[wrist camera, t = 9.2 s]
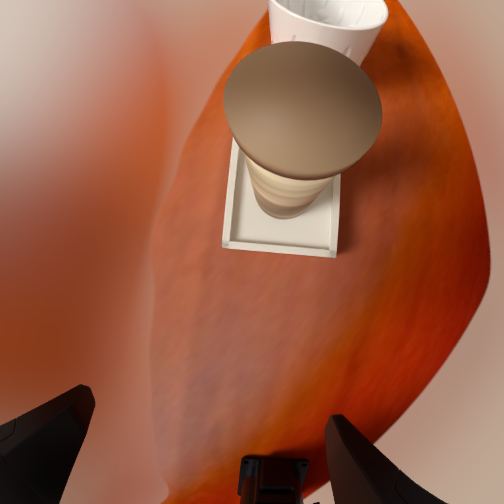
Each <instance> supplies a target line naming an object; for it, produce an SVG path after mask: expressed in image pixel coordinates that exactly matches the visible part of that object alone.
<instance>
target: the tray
mask: <svg viewBox="0 0 504 504" xmlns="http://www.w3.org/2000/svg"><path fill="white" fill-rule="evenodd" d="M340 179H341V173H340V174H338V175H336V176H335V177H334V179H333V180H332V181H331V182H330V183H329V184H328V185H327V186H326V188H325V189H324V190H323V191H322V192H321V193H320V194H319V195H318V197H317V198H316V199H315V200H314V201H313V202H312V203H311V205H310V206H309V207H308V208H307V209H306V210H305V211H304V212H303V213H302V214H301V215H299V216H297V217H295V218H292V219H285V220H283V219H276V218H273V217H271V216H269V215H267V214H266V213H265V212H264V211H263V210H262V209H261V208H260V207H259V205H258V203H257V201H256V198H255V195H254V191H253V187H252V183H251V179H250V175H249V172H248V168H247V164H246V160H245V156H244V153H243V151H242V150H241V149H240V147H239V146H238V144H237V143H236V141H235V139H234V137H233V143H232V151H231V160H230V169H229V178H228V187H227V197H226V207H225V217H224V227H223V238H222V248H229V249H241V250H252V251H263V252H275V253H286V254H297V255H309V256H320V257H331V258H336V252H337V240H338V225H339V207H340Z"/></svg>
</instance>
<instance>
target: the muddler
mask: <svg viewBox="0 0 504 504" xmlns="http://www.w3.org/2000/svg"><path fill="white" fill-rule="evenodd" d="M224 109H225V114H226V117H227V120H228V123H229V126H230V129H231V132H232V135H233V137H234V139H235V141H236V143H237V144H238V146H239V147H240V149H241V150H242V151H243V153H244V156H245V160H246V164H247V168H248V172H249V175H250V179H251V183H252V187H253V191H254V195H255V198H256V201H257V203H258V205H259V207H260V208H261V209H262V210H263V211H264V212H265V213H266V214H267V215H269V216H271V217H273V218H276V219H283V220H285V219H292V218H295V217H297V216H299V215H301V214H302V213H303V212H304V211H305V210H306V209H307V208H308V207H309V206H310V205H311V203H312V202H313V201H314V200H315V199H316V198H317V197H318V195H319V194H320V193H321V192H322V191H323V190H324V189H325V188H326V186H327V185H328V184H329V183H330V182H331V181H332V180H333V179H334V177H335V176H336V175H338V174H340V173H343V172H344V171H346V170H347V169H349V168H350V167H352V166H353V165H354V164H355V163H356V162H357V161H358V160H359V159H360V158H361V157H362V156H363V155H364V154H365V153H366V152H367V151H368V150H369V149H370V147H371V146H372V145H373V144H374V142H375V140H376V139H377V136H378V134H379V131H380V128H381V123H382V106H381V101H380V97H379V95H378V92H377V90H376V88H375V86H374V84H373V82H372V81H371V79H370V78H369V77H368V75H367V74H366V73H365V72H364V71H363V70H362V68H361V67H360V66H358V65H357V64H356V63H355V62H354V61H352V60H351V59H350V58H348V57H347V56H345V55H343V54H342V53H340V52H338V51H336V50H334V49H331V48H329V47H326V46H323V45H320V44H315V43H310V42H302V41H288V42H279V43H274V44H271V45H267V46H264V47H262V48H260V49H257V50H255V51H254V52H252V53H250V54H249V55H247V56H246V57H245V58H244V59H242V60H241V61H240V62H239V63H238V64H237V65H236V67H235V68H234V69H233V71H232V72H231V74H230V76H229V78H228V80H227V83H226V86H225V90H224Z"/></svg>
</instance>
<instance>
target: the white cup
mask: <svg viewBox="0 0 504 504" xmlns="http://www.w3.org/2000/svg"><path fill="white" fill-rule="evenodd" d="M268 8H269V18H270V32H271V42H272V44H274V43H279V42H288V41H302V42H310V43H315V44H320V45H323V46H326V47H329V48H331V49H334V50H336V51H338V52H340V53H342V54H343V55H345V56H347V57H348V58H350V59H351V60H352V61H354V62H355V63H356V64H357V65H358V66H360V65H361V63H362V62H363V60H364V58H365V57H366V55H367V54H368V52H369V50H370V48H371V47H372V45H373V43H374V41H375V39H376V38H377V36H378V34H379V32H380V30H381V29H382V27H383V25H384V24H385V22H386V20H387V18H388V8H387V6H386V4H385V2H384V0H268Z"/></svg>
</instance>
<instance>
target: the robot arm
mask: <svg viewBox="0 0 504 504" xmlns="http://www.w3.org/2000/svg"><path fill="white" fill-rule="evenodd" d="M94 408H95V399H94V396H93V393H92V391H91V389H90V387H89V386H86V385H83V384H80V385H78V386H76V387H74V388H72V389H70V390H68V391H67V392H65V393H63V394H61V395H59V396H57V397H55V398H53V399H52V400H50V401H48V402H46V403H44V404H42V405H40V406H38V407H36V408H35V409H33V410H31V411H29V412H27V413H25V414H23V415H21V416H19V417H17V419H16V418H15V419H13V420H11V421H9V422H7V423H5V424H3V425H0V504H59V503H60V500H61V497H62V494H63V491H64V489H65V486H66V484H67V481H68V478H69V476H70V473H71V470H72V468H73V466H74V463H75V461H76V458H77V455H78V453H79V451H80V448H81V446H82V444H83V441H84V439H85V437H86V434H87V431H88V427H89V424H90V420H91V417H92V414H93V411H94ZM325 442H326V455H327V466H328V472H329V477H330V481H331V486H332V491H333V496H334V501H335V504H447V503H445V502H444V501H442V500H440V499H438V498H437V497H435V496H434V495H433V494H431V493H429V492H428V491H426V490H425V489H423V488H422V487H421V486H419V485H418V484H416V483H415V482H414V481H413V480H411V479H410V478H409V477H408V476H407V475H405V474H404V473H403V472H402V471H401V470H399V469H398V468H397V466H395V465H394V464H393V463H392V462H391V461H390V460H389V459H388V458H387V457H386V456H385V455H383V454H382V453H381V452H380V451H379V450H378V449H377V448H376V447H375V446H374V445H373V444H372V443H371V442H370V441H369V440H368V439H367V438H366V437H365V436H364V435H363V434H362V433H361V432H360V431H359V430H358V429H357V428H356V427H355V426H354V425H353V424H352V423H351V422H350V421H349V420H348V419H347V418H346V417H345V416H343V415H342V414H333V415H331V416H330V418H329V420H328V423H327V425H326V427H325ZM246 461H248V462H246ZM304 463H305V464H304ZM308 468H309V461H308V460H307V459H273V458H258V457H243V458H242V459H241V466H240V475H239V484H238V493H237V494H238V495H239V496H241V499H240V504H304V503H303V495H302V486H303V483H304V480H305V477H306V474H307V471H308ZM313 504H320V503H319V502H317V503H313Z"/></svg>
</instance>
